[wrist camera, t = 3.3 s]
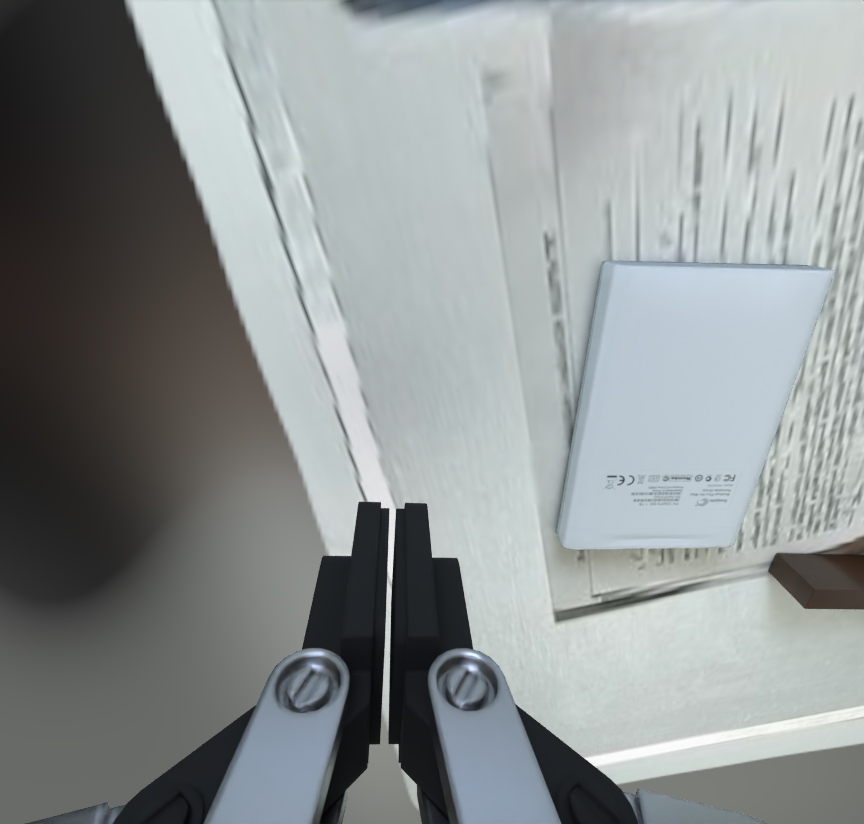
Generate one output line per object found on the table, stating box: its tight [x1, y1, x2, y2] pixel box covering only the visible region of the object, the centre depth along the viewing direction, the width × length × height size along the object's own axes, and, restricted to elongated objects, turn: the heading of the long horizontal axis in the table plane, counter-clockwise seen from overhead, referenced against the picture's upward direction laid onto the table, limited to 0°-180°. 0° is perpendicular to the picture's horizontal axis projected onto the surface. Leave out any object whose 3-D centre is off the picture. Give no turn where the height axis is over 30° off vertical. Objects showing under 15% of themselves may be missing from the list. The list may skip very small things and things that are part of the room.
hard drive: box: [556, 261, 835, 550], centre depth 20 cm, size 2×8×12 cm
